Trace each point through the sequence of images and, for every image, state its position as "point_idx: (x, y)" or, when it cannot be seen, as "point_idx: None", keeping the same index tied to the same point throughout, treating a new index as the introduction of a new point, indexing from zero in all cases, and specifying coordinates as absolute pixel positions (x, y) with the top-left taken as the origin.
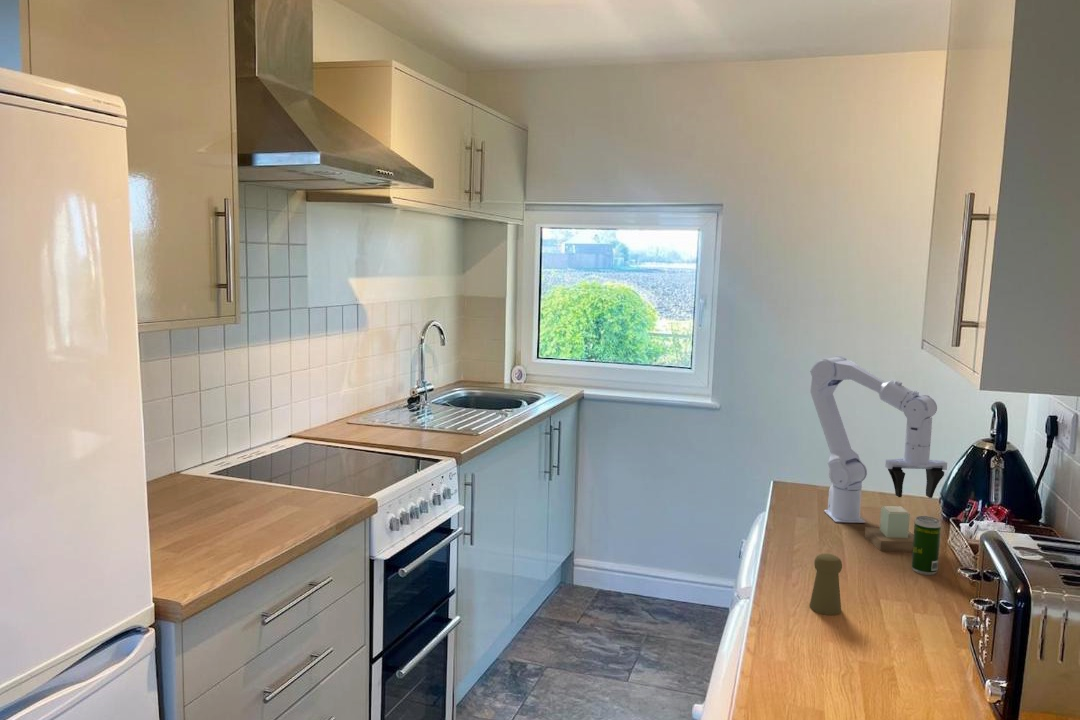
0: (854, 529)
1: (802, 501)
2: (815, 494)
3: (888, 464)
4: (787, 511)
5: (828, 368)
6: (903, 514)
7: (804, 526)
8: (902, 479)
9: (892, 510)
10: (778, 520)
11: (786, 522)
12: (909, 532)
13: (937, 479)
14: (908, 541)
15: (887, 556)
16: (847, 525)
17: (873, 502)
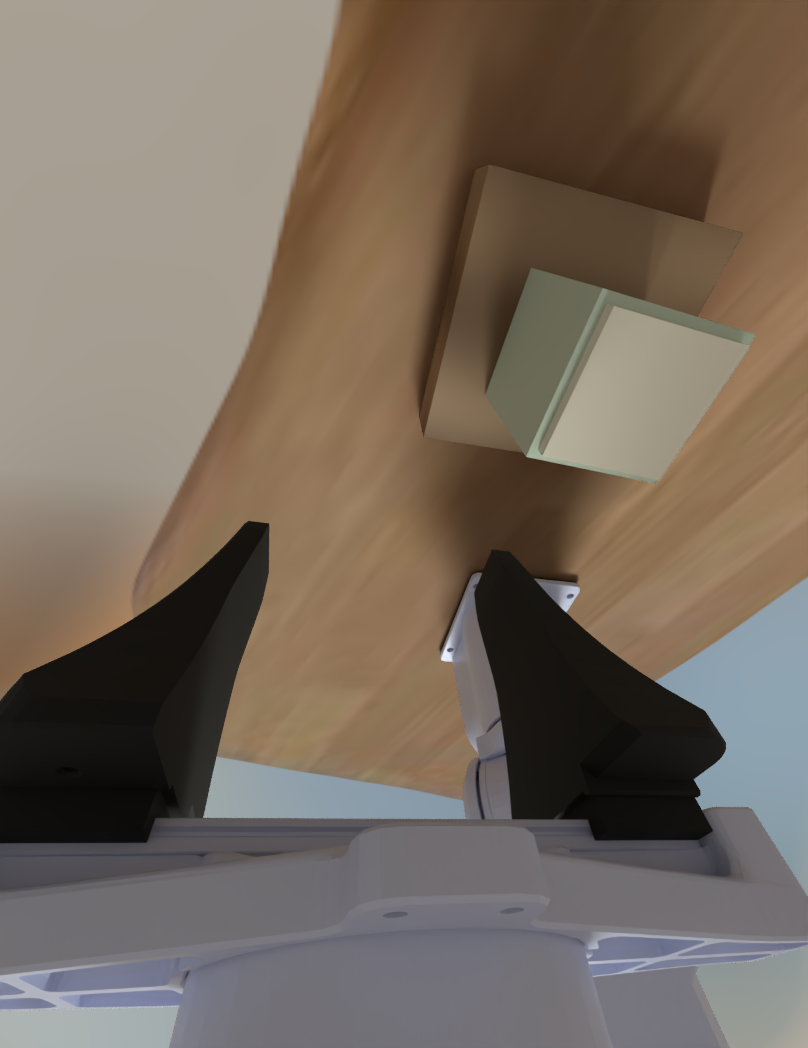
0: (564, 521)
1: None
2: (446, 753)
3: (792, 878)
4: (638, 665)
5: None
6: (648, 303)
7: (717, 560)
8: (581, 662)
9: (695, 375)
10: (743, 609)
11: (737, 594)
12: (447, 368)
13: (152, 638)
14: (581, 193)
15: (753, 114)
16: (555, 558)
17: (311, 712)
